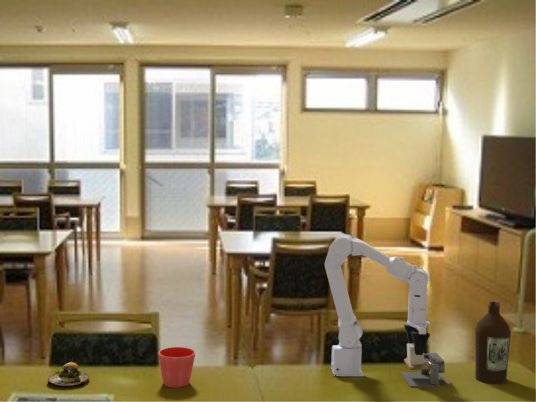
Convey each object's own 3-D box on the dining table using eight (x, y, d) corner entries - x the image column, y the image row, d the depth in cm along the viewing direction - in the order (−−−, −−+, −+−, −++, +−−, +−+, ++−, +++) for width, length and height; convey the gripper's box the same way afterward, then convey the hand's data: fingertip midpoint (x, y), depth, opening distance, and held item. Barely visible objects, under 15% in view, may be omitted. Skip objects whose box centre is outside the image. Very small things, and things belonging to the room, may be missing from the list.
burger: (39, 385, 205) (39, 360, 205) (68, 374, 216) (68, 350, 215) (69, 392, 200) (69, 367, 199) (97, 381, 210) (98, 356, 210)
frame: (430, 386, 211) (431, 364, 211) (420, 374, 223) (421, 353, 223) (450, 386, 212) (451, 364, 211) (439, 374, 223) (440, 353, 223)
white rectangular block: (410, 364, 215) (409, 347, 214) (407, 360, 219) (406, 343, 218) (423, 364, 215) (423, 346, 214) (420, 360, 219) (420, 343, 218)
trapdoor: (410, 374, 212) (410, 362, 212) (404, 365, 221) (403, 354, 221) (444, 372, 213) (444, 361, 212) (436, 363, 222) (436, 352, 221)
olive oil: (467, 374, 224) (471, 297, 222) (498, 373, 226) (502, 297, 224) (482, 385, 214) (485, 305, 212) (514, 384, 215) (518, 304, 213)
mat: (410, 387, 210) (410, 385, 210) (400, 373, 223) (400, 372, 223) (439, 387, 211) (439, 386, 211) (428, 373, 224) (428, 372, 224)
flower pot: (188, 391, 203) (188, 358, 202) (152, 387, 205) (153, 355, 204) (199, 379, 213) (199, 348, 212) (165, 376, 215) (165, 345, 215)
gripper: (436, 313, 208) (435, 358, 209) (424, 303, 223) (422, 344, 224) (413, 313, 208) (411, 357, 209) (402, 302, 223) (400, 344, 224)
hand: (415, 351), depth 216 cm, fingers open, 7 cm apart
